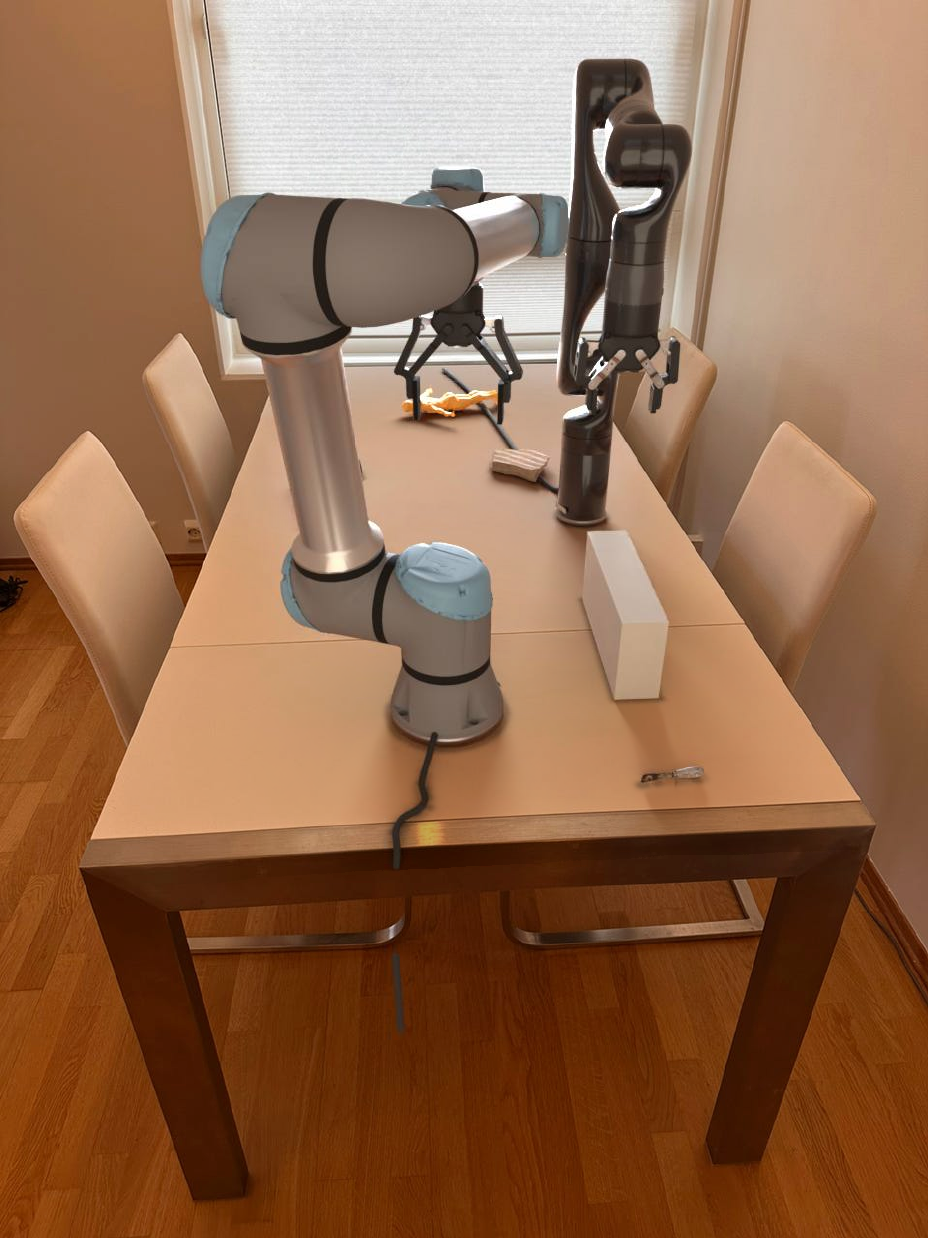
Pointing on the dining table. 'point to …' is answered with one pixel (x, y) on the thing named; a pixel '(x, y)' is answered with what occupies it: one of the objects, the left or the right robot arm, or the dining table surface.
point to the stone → (519, 462)
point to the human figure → (449, 401)
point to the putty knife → (674, 774)
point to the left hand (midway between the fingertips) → (458, 420)
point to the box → (624, 615)
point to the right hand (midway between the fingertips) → (621, 412)
